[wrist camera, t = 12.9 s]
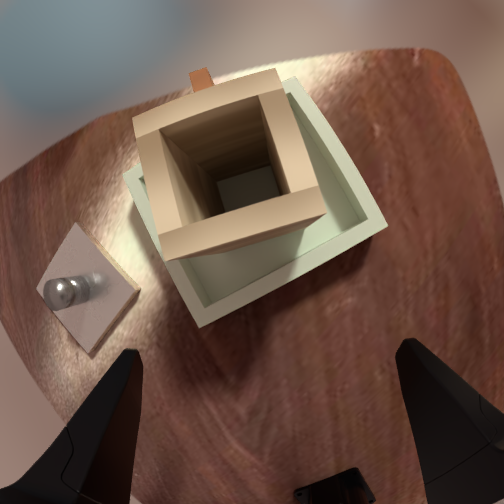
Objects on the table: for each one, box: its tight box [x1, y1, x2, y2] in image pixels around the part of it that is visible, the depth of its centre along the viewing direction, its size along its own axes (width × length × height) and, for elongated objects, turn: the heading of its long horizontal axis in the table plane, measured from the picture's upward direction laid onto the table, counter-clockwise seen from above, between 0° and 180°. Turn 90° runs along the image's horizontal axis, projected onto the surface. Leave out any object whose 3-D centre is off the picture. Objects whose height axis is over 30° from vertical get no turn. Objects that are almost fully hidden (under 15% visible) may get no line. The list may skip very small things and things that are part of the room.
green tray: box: [122, 76, 388, 328], centre depth 21 cm, size 12×14×3 cm
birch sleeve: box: [132, 67, 327, 261], centre depth 16 cm, size 8×6×11 cm
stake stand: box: [36, 222, 141, 353], centre depth 22 cm, size 8×8×4 cm
